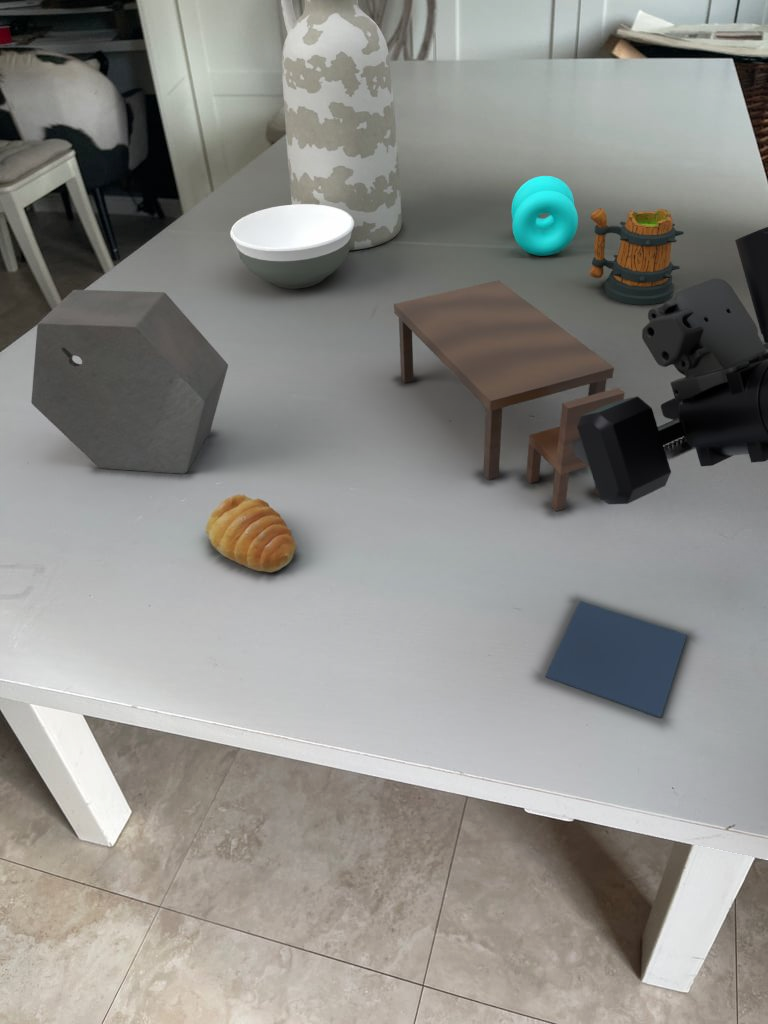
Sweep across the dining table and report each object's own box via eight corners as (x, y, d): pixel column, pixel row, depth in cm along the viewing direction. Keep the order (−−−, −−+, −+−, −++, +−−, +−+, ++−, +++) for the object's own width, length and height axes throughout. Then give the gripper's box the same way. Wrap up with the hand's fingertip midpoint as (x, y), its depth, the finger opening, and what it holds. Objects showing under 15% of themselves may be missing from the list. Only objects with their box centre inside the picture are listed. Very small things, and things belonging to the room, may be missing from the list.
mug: (673, 277, 120) (688, 198, 112) (676, 307, 112) (692, 225, 105) (584, 273, 122) (592, 195, 115) (580, 302, 115) (589, 221, 107)
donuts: (570, 234, 134) (576, 172, 128) (575, 258, 127) (582, 193, 120) (509, 235, 135) (512, 173, 129) (511, 259, 128) (514, 194, 121)
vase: (424, 227, 140) (419, -37, 116) (348, 261, 130) (326, -20, 106) (343, 203, 151) (323, -42, 127) (267, 233, 141) (230, -27, 117)
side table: (602, 449, 87) (614, 367, 81) (486, 483, 84) (490, 400, 77) (496, 353, 105) (499, 279, 98) (396, 378, 101) (393, 303, 95)
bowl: (282, 247, 136) (275, 197, 131) (379, 263, 129) (376, 211, 124) (214, 291, 124) (204, 238, 119) (317, 311, 116) (311, 256, 111)
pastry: (315, 552, 77) (311, 521, 74) (259, 589, 73) (253, 559, 71) (255, 510, 82) (249, 480, 79) (200, 543, 78) (192, 513, 76)
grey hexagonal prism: (261, 401, 89) (126, 247, 80) (240, 441, 83) (91, 279, 74) (160, 462, 97) (26, 328, 88) (134, 502, 91) (-12, 363, 82)
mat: (686, 636, 66) (686, 634, 66) (660, 718, 60) (661, 716, 60) (579, 602, 70) (580, 601, 70) (545, 677, 64) (545, 675, 64)
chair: (608, 495, 81) (625, 392, 73) (556, 511, 79) (568, 408, 72) (575, 463, 85) (588, 363, 78) (525, 478, 84) (533, 377, 76)
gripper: (858, 235, 51) (677, 297, 65) (639, 314, 44) (491, 364, 58) (901, 403, 52) (715, 427, 67) (696, 505, 45) (538, 508, 60)
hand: (620, 428), depth 63 cm, fingers open, 9 cm apart
